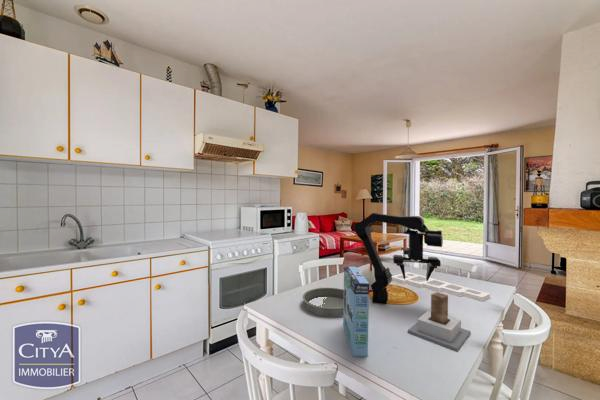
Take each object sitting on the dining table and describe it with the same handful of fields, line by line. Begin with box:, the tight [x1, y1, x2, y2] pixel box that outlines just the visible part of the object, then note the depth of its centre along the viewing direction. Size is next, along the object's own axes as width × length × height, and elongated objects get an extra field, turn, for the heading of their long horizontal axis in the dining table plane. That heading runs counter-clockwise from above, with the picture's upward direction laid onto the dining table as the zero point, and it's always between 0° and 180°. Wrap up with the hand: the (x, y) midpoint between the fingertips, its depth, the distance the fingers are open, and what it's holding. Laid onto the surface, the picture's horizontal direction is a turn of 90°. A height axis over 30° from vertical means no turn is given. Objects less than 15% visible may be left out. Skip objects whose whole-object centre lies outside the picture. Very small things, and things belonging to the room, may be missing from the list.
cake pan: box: [302, 287, 344, 317], centre depth 119 cm, size 25×25×4 cm
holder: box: [391, 271, 491, 303], centre depth 143 cm, size 45×18×3 cm, turn 34°
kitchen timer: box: [361, 259, 376, 292], centre depth 142 cm, size 14×14×15 cm
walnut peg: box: [430, 291, 449, 325], centre depth 95 cm, size 4×4×13 cm
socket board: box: [407, 310, 472, 352], centre depth 95 cm, size 16×16×5 cm
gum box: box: [342, 266, 370, 358], centre depth 90 cm, size 20×5×23 cm, turn 0°
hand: (415, 279), depth 115 cm, fingers open, 9 cm apart
